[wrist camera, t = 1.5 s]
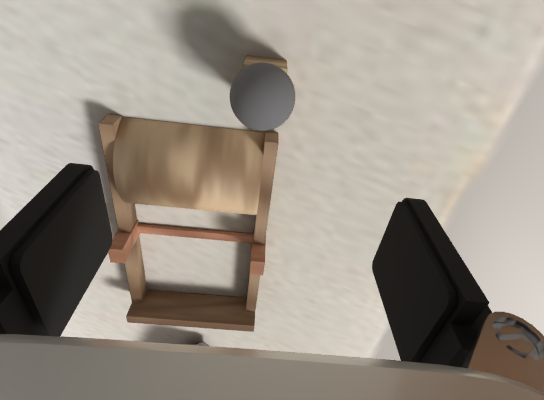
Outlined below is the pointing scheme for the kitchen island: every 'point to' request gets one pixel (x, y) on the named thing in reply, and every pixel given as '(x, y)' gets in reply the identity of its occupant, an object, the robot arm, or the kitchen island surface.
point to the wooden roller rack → (187, 206)
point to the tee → (252, 60)
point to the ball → (262, 96)
